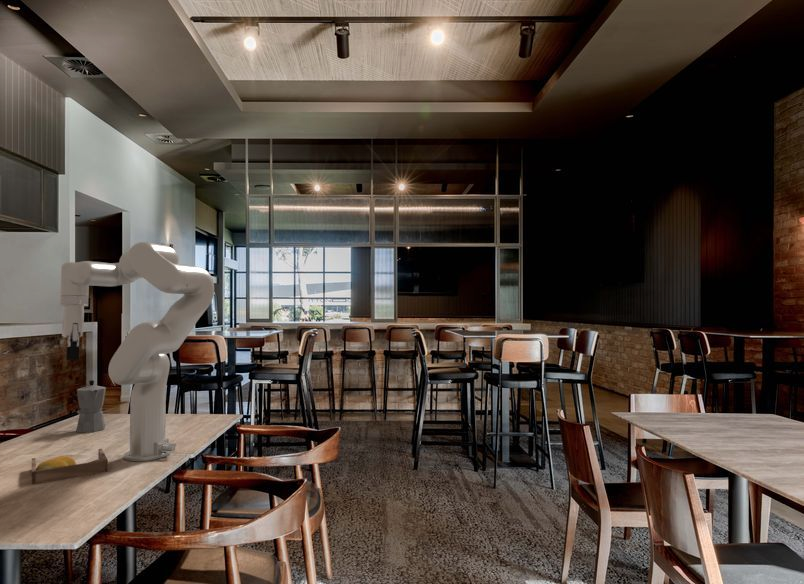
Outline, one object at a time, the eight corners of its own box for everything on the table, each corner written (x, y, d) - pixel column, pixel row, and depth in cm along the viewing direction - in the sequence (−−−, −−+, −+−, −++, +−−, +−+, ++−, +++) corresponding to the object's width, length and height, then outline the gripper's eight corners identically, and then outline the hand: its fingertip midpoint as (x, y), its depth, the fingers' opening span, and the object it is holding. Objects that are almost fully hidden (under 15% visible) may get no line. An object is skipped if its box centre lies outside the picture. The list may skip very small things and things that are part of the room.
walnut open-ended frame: (31, 469, 140) (31, 458, 141) (101, 458, 150) (101, 448, 150) (31, 484, 128) (31, 472, 129) (107, 471, 138) (107, 460, 138)
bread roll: (82, 467, 143) (82, 452, 143) (58, 477, 134) (58, 462, 134) (53, 466, 144) (54, 452, 144) (28, 477, 135) (28, 461, 135)
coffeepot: (110, 430, 185) (111, 380, 186) (80, 435, 179) (81, 383, 179) (99, 424, 196) (100, 376, 197) (70, 428, 190) (71, 379, 191)
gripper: (58, 301, 166) (56, 358, 166) (62, 301, 155) (60, 362, 154) (85, 301, 171) (83, 356, 171) (91, 301, 159) (89, 361, 159)
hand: (72, 359), depth 162 cm, fingers closed
